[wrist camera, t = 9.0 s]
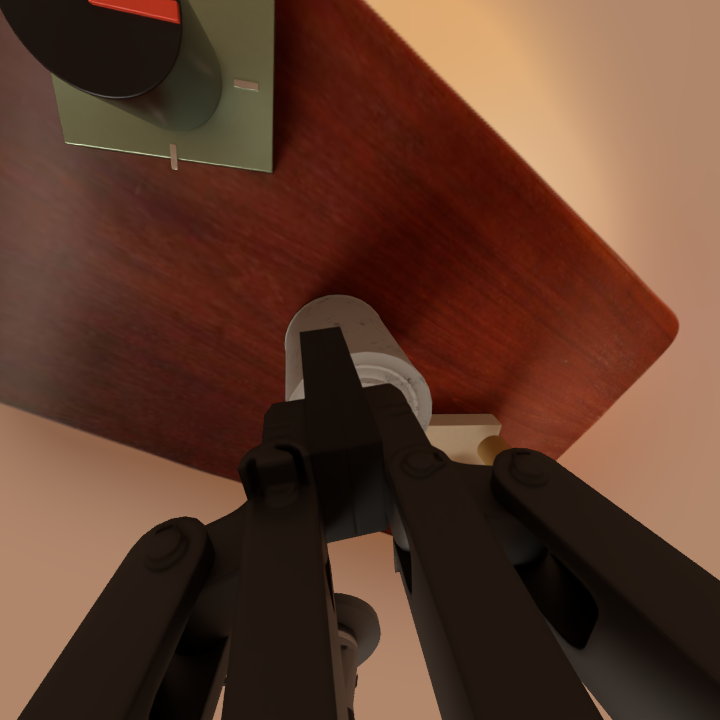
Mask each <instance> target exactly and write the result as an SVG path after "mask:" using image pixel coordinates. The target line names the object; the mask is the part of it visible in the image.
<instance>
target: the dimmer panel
mask: <svg viewBox="0 0 720 720" xmlns="http://www.w3.org/2000/svg"><path fill="white" fill-rule="evenodd" d="M189 2H190V4H191V6H192V8H193V10H194V12H195V14H196V16H197V17H198V19H199V21H200V23H201V25H202V27H203V29H204V31H205V33H206V35H207V36H208V38H209V40H210V42H211V44H212V46H213V48H214V51H215V53H216V56H217V59H218V62H219V67H220V72H221V93H220V98H219V101H218V104H217V107H216V109H215V111H214V112H213V114H212V115H211V117H210V118H209V119H208V120H207V121H206V122H205V123H203V124H202V125H200V126H199V127H197V128H194V129H192V130H187V131H170V130H166V129H163V128H160V127H157V126H155V125H153V124H151V123H149V122H146V121H144V120H142V119H140V118H138V117H136V116H134V115H131V114H129V113H127V112H125V111H123V110H121V109H119V108H117V107H114V106H112V105H110V104H108V103H106V102H104V101H102V100H99V99H97V98H95V97H93V96H91V95H89V94H87V93H84V92H82V91H80V90H78V89H76V88H74V87H72V86H70V85H69V84H67V83H66V82H64V81H62V80H61V79H59V78H58V77H57V76H55V75H54V74H53V73H51V76H52V81H53V86H54V91H55V96H56V101H57V106H58V111H59V116H60V121H61V126H62V131H63V136H64V141H65V143H66V144H71V145H76V146H81V147H86V148H92V149H99V150H106V151H113V152H120V153H127V154H134V155H141V156H148V157H156V158H163V159H170V160H171V166H172V169H175V170H178V161H184V162H191V163H198V164H205V165H212V166H219V167H226V168H233V169H240V170H247V171H254V172H262V173H269V174H274V122H275V58H276V6H275V0H189Z"/></svg>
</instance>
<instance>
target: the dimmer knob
mask: <svg viewBox="0 0 720 720" xmlns="http://www.w3.org/2000/svg"><path fill="white" fill-rule="evenodd" d="M0 8H1V10H2V12H3V14H4V16H5V18H6V20H7V22H8V23H9V25H10V26H11V28H12V30H13V31H14V33H15V34H16V35H17V37H18V38H19V39H20V41H21V42H22V43H23V45H24V46H25V47H26V48H27V49H28V51H29V52H30V53H31V54H32V55H33V56H34V57H35V58H36V59H37V60H38V61H39V62H40V63H41V64H42V65H43V66H44V67H45V68H46V69H48V70H49V71H50V72H51V73H53V74H54V75H55V76H57V77H58V78H59V79H61V80H62V81H64V82H66V83H67V84H69V85H70V86H72V87H74V88H76V89H78V90H80V91H82V92H84V93H87V94H89V95H91V96H93V97H95V98H97V99H99V100H102V101H104V102H106V103H108V104H110V105H112V106H114V107H117V108H119V109H121V110H123V111H125V112H127V113H129V114H131V115H134V116H136V117H138V118H140V119H142V120H144V121H146V122H149V123H151V124H153V125H155V126H157V127H160V128H163V129H166V130H170V131H187V130H192V129H194V128H197V127H199V126H200V125H202V124H203V123H205V122H206V121H207V120H208V119H209V118H210V117H211V115H212V114H213V112H214V111H215V109H216V107H217V104H218V101H219V98H220V93H221V72H220V67H219V62H218V59H217V56H216V53H215V51H214V48H213V46H212V44H211V42H210V40H209V38H208V36H207V35H206V33H205V31H204V29H203V27H202V25H201V23H200V21H199V19H198V17H197V16H196V14H195V12H194V10H193V8H192V6H191V4H190V2H189V0H0Z"/></svg>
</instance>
